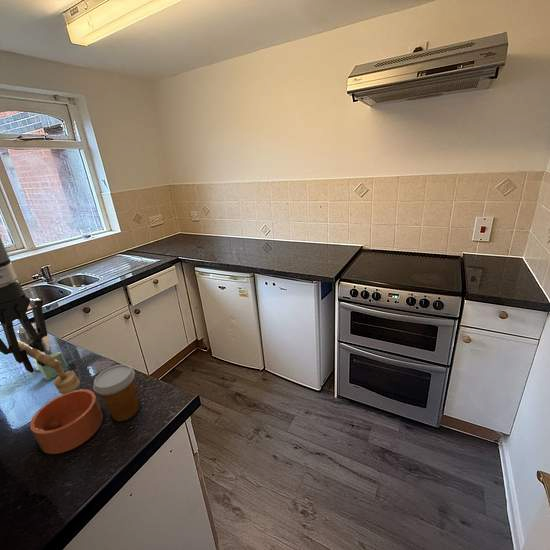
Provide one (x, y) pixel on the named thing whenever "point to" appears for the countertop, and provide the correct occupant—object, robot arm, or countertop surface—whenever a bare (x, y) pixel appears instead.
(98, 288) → the countertop surface
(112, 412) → the disposable coffee cup
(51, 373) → the pale green box
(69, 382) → the ladle
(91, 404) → the bowl
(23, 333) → the beer glass
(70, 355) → the countertop surface
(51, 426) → the meatball
